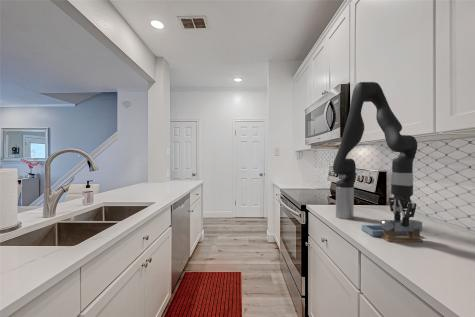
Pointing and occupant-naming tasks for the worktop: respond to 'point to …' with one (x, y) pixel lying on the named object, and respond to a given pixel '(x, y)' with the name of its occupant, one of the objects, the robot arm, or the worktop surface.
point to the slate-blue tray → (379, 231)
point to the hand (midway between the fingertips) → (401, 224)
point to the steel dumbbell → (397, 225)
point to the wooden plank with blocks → (402, 237)
